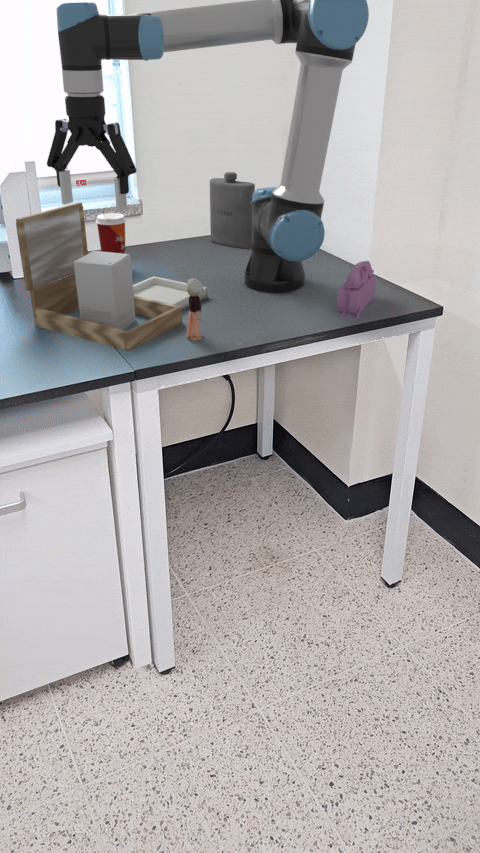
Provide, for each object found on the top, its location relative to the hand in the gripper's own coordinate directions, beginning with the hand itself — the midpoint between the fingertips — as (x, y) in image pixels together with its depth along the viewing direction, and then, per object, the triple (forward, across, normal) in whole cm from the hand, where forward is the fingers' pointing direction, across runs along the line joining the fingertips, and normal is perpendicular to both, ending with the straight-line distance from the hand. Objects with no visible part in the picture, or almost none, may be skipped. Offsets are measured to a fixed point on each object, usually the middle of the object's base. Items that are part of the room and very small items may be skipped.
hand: (94, 206), depth 150 cm
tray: (+24, -7, -13) cm, 28 cm away
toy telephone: (+24, -49, -28) cm, 62 cm away
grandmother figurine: (+24, -25, +3) cm, 35 cm away
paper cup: (+24, +16, -29) cm, 41 cm away
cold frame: (+24, -5, +5) cm, 25 cm away
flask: (+24, 0, -65) cm, 69 cm away
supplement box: (+24, -5, +5) cm, 25 cm away
